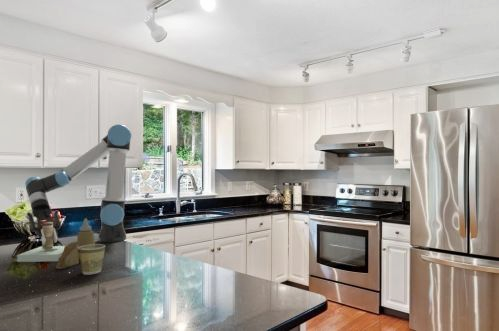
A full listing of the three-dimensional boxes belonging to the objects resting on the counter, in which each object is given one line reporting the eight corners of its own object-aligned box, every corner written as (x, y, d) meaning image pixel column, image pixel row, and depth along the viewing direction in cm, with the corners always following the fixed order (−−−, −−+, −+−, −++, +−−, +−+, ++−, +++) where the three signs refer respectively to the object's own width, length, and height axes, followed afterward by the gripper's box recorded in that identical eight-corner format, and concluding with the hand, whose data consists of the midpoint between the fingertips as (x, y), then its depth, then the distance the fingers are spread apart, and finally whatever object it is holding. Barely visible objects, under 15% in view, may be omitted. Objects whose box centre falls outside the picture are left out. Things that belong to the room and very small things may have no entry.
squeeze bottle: (98, 256, 169) (98, 217, 169) (89, 260, 161) (89, 219, 161) (82, 255, 170) (82, 217, 170) (72, 260, 162) (72, 219, 162)
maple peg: (54, 247, 171) (54, 221, 171) (49, 249, 167) (49, 223, 167) (45, 247, 171) (45, 221, 171) (40, 249, 167) (40, 223, 167)
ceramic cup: (95, 276, 136) (94, 249, 136) (71, 275, 138) (71, 249, 138) (114, 267, 149) (114, 242, 149) (93, 266, 151) (92, 242, 151)
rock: (58, 265, 144) (84, 257, 151) (51, 247, 147) (77, 240, 154) (54, 277, 151) (79, 269, 157) (48, 259, 154) (73, 251, 161)
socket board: (77, 252, 178) (77, 245, 178) (58, 261, 160) (58, 254, 160) (40, 252, 178) (40, 246, 178) (17, 261, 160) (17, 255, 160)
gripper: (56, 207, 186) (68, 243, 174) (17, 209, 174) (27, 249, 162) (60, 197, 183) (72, 233, 171) (20, 199, 170) (30, 239, 158)
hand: (50, 241), depth 166 cm, fingers closed on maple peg, 4 cm apart
